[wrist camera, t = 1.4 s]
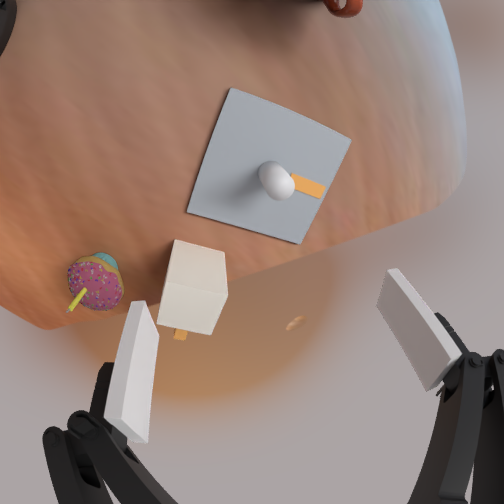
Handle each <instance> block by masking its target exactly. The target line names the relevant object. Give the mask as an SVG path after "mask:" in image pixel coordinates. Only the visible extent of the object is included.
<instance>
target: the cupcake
mask: <svg viewBox="0 0 504 504" xmlns="http://www.w3.org/2000/svg"><path fill="white" fill-rule="evenodd" d="M67 274H68V281H69V283H68V285H69V287H70V288H69V289H71V290H70V291H71V292H72V295H73V296H74V297H75V299H74V300H73V301H72V303H71V304H70V305H69V307H68V310H67V311H66V313H67V312H69V310H70V311H72V310H73V309H74V308H75V306H76V305H77V304H78V302H80V303H81V304H83V305H84V306H86V307H88V308H90V309H91V310H92V309H93V310H94V311H95V310H100V311H104V310H106V311H107V310H109V309H112V308H113V307H115V306H116V305H117V304H118V303H119V301H120V300H121V299H122V297H123V295H124V284H123V281H122V278H121V276H120V273H119V271H118V266H117V263H116V261H115V260H114V259H113V258H112V257H111V256H110V255H108V254H106V253H95V254H94V255H92V256H83V257H81V258H79V259H78V260H77V261H76V262H75V263H74V264H72V265H71V266H70V267H69V270H68V273H67Z"/></svg>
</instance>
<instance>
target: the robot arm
mask: <svg viewBox="0 0 504 504" xmlns="http://www.w3.org/2000/svg"><path fill="white" fill-rule="evenodd" d="M16 11H17V6H16V1H15V0H0V55H1V53H2V52H3V50H4V48H5V46H6V44H7V42H8V40H9V37H10V35H11V32H12V29H13V26H14V23H15V18H16ZM377 308H378V309H379V311H380V312H381V314H382V315H383V317H384V319H385V320H386V322H387V324H388V325H389V327H390V328H391V330H392V332H393V333H394V335H395V337H396V338H397V340H398V342H399V344H400V345H401V347H402V349H403V350H404V352H405V354H406V356H407V357H408V359H409V360H410V362H411V364H412V366H413V368H414V370H415V372H416V373H417V375H418V377H419V379H420V381H421V383H422V385H423V386H424V388H425V390H426V391H429V390H431V389H433V388H435V387H437V386H438V384H439V383H440V382H441V381H442V380H443V382H444V385H443V386H442V387H441V388H440V390H439V391H438V392H437V394H436V396H438V395H439V394H440V393H441V396H440V397H441V398H440V403H439V408H438V412H437V417H436V421H435V426H434V430H433V433H432V437H431V441H430V444H429V447H428V451H427V454H426V457H425V460H424V463H423V466H422V469H421V472H420V475H419V477H418V480H417V482H416V485H415V487H414V490H413V492H412V495H411V497H410V500H409V502H408V503H407V504H468V502H467V501H466V500H465V497H464V496H465V492H466V489H467V486H468V482H469V479H470V475H471V471H472V467H473V463H474V471H473V484H472V494H471V502H470V504H504V350H502V349H497V350H496V351H495V352H494V353H493V355H492V356H487V357H481V356H480V355H479V354H477V353H476V352H469V351H468V349H467V348H466V346H465V345H464V343H463V342H462V341H461V339H460V338H459V336H458V335H457V334H456V332H454V329H453V328H452V327H451V326H450V324H449V323H448V321H447V320H446V319H445V318H444V317H443V316H442V315H440V314H439V313H433V312H432V311H431V310H430V308H429V307H428V306H427V304H426V303H425V302H424V300H423V299H422V298H421V297H420V295H419V294H418V293H417V292H416V290H415V289H414V288H413V287H412V285H411V284H410V283H409V282H408V281H407V279H406V278H405V277H404V276H403V274H402V273H401V272H400V271H399V270H398V269H397V268H395V269H390V270H387V271H386V275H385V278H384V282H383V285H382V289H381V292H380V296H379V299H378V302H377ZM158 341H159V334H158V332H157V329H156V327H155V324H154V322H153V320H152V317H151V315H150V312H149V310H148V307H147V305H146V302H145V300H144V301H132V302H131V305H130V308H129V312H128V315H127V318H126V322H125V326H124V329H123V333H122V336H121V340H120V344H119V348H118V352H117V356H116V360H115V363H112V362H105V363H104V364H103V366H102V367H101V369H100V370H99V373H98V377H97V382H96V385H95V390H94V393H93V398H92V402H91V407H90V412H89V413H88V412H86V411H84V410H79V411H76V412H74V413H73V414H72V415H71V416H70V418H69V419H68V423H67V427H68V430H66V431H62V430H61V429H60V428H57V427H55V426H53V427H49V428H47V429H46V430H45V432H44V434H43V447H44V451H45V456H46V461H47V465H48V469H49V473H50V477H51V480H52V484H53V487H54V490H55V494H56V497H57V500H58V503H59V504H113V502H112V500H111V498H110V495H109V493H108V491H107V488H106V486H105V483H104V481H105V482H106V484H107V485H108V487H109V488H110V490H111V491H112V492H113V494H114V495H115V497H116V498H117V499H118V501H119V502H120V503H121V504H178V503H177V502H176V501H175V500H174V499H173V498H172V497H171V496H170V495H169V494H168V493H167V492H166V491H165V490H164V489H163V488H162V486H161V485H160V484H159V483H158V482H157V481H156V480H155V479H154V478H153V476H152V475H151V474H150V473H149V472H148V470H147V469H146V468H145V467H144V466H143V464H142V463H141V462H140V460H139V459H138V458H137V457H136V455H135V454H134V453H133V451H132V450H131V449H130V447H129V446H128V445H127V438H128V439H129V440H131V441H132V442H139V443H148V433H149V421H150V409H151V398H152V388H153V379H154V371H155V363H156V355H157V348H158ZM492 385H493V386H494V390H493V391H492V388H491V386H492ZM103 479H104V481H103Z"/></svg>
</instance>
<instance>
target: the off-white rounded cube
mask: <svg viewBox="0 0 504 504" xmlns="http://www.w3.org/2000/svg"><path fill="white" fill-rule="evenodd" d="M227 297H228V289H227V278H226V266H225V253H224V252H222V251H218V250H214V249H210V248H207V247H203V246H199V245H195V244H191V243H188V242H184V241H180V240H176V239H175V241H174V244H173V248H172V252H171V256H170V260H169V264H168V268H167V272H166V276H165V281H164V285H163V291H162V296H161V301H160V306H159V312H158V318H157V324H159V325H164V326H168V327H173V328H175V329H174V339H179V340H185V339H186V336H187V333H188V331H192V332H197V333H202V334H207V335H211V334H212V331H213V329H214V327H215V324H216V322H217V320H218V317H219V315H220V313H221V311H222V308H223V306H224V304H225V301H226V299H227Z"/></svg>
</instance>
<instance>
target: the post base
mask: <svg viewBox="0 0 504 504" xmlns="http://www.w3.org/2000/svg"><path fill="white" fill-rule="evenodd" d="M351 141H352V140H351V139H349V138H347V137H345V136H344V135H342V134H340V133H338V132H336V131H334V130H332V129H330V128H328V127H326V126H324V125H322V124H320V123H318V122H316V121H314V120H311V119H309V118H307V117H305V116H303V115H301V114H298V113H296V112H294V111H291V110H289V109H287V108H284V107H282V106H280V105H277V104H275V103H272V102H270V101H267V100H265V99H262V98H259V97H257V96H254V95H251V94H249V93H246V92H243V91H240V90H237V89H234V88H230V91H229V93H228V96H227V98H226V101H225V103H224V106H223V108H222V111H221V113H220V116H219V118H218V121H217V124H216V126H215V129H214V132H213V134H212V137H211V140H210V143H209V145H208V148H207V151H206V154H205V157H204V160H203V163H202V165H201V168H200V171H199V174H198V177H197V180H196V184H195V187H194V190H193V193H192V196H191V199H190V202H189V206H188V209H187V212H189V213H192V214H196V215H200V216H203V217H207V218H210V219H214V220H218V221H221V222H225V223H228V224H232V225H235V226H239V227H242V228H246V229H249V230H252V231H256V232H259V233H263V234H266V235H270V236H273V237H276V238H280V239H283V240H287V241H290V242H293V243H297V244H301V242H302V240H303V238H304V236H305V234H306V232H307V230H308V228H309V227H310V225H311V223H312V221H313V219H314V217H315V215H316V213H317V211H318V209H319V207H320V205H321V203H322V201H323V199H324V197H325V195H326V193H327V191H328V189H329V187H330V185H331V183H332V181H333V179H334V176H335V174H336V172H337V170H338V168H339V166H340V164H341V162H342V160H343V158H344V156H345V154H346V151H347V149H348V147H349V145H350V143H351Z"/></svg>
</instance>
